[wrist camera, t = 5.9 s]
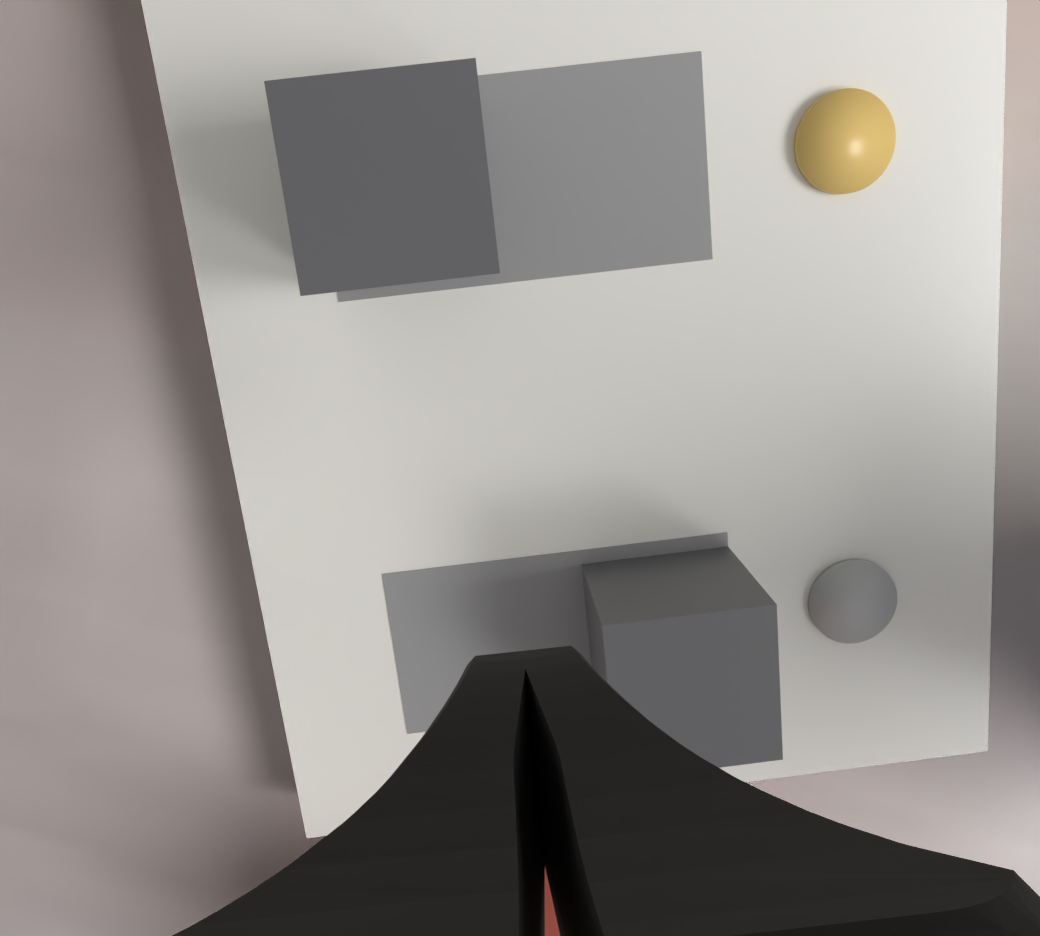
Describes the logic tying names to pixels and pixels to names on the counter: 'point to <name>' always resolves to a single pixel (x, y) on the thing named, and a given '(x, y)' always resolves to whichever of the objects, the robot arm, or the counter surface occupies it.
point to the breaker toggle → (384, 175)
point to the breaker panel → (624, 374)
